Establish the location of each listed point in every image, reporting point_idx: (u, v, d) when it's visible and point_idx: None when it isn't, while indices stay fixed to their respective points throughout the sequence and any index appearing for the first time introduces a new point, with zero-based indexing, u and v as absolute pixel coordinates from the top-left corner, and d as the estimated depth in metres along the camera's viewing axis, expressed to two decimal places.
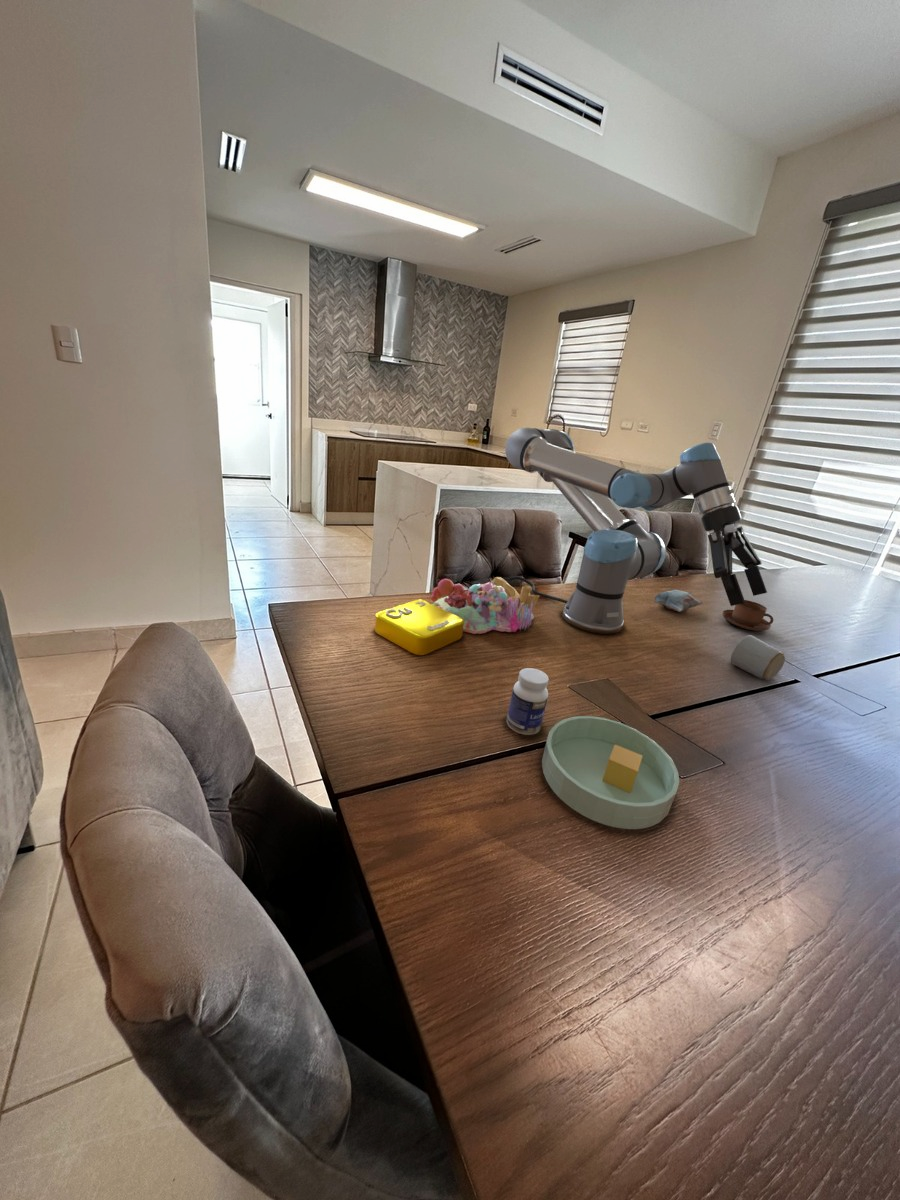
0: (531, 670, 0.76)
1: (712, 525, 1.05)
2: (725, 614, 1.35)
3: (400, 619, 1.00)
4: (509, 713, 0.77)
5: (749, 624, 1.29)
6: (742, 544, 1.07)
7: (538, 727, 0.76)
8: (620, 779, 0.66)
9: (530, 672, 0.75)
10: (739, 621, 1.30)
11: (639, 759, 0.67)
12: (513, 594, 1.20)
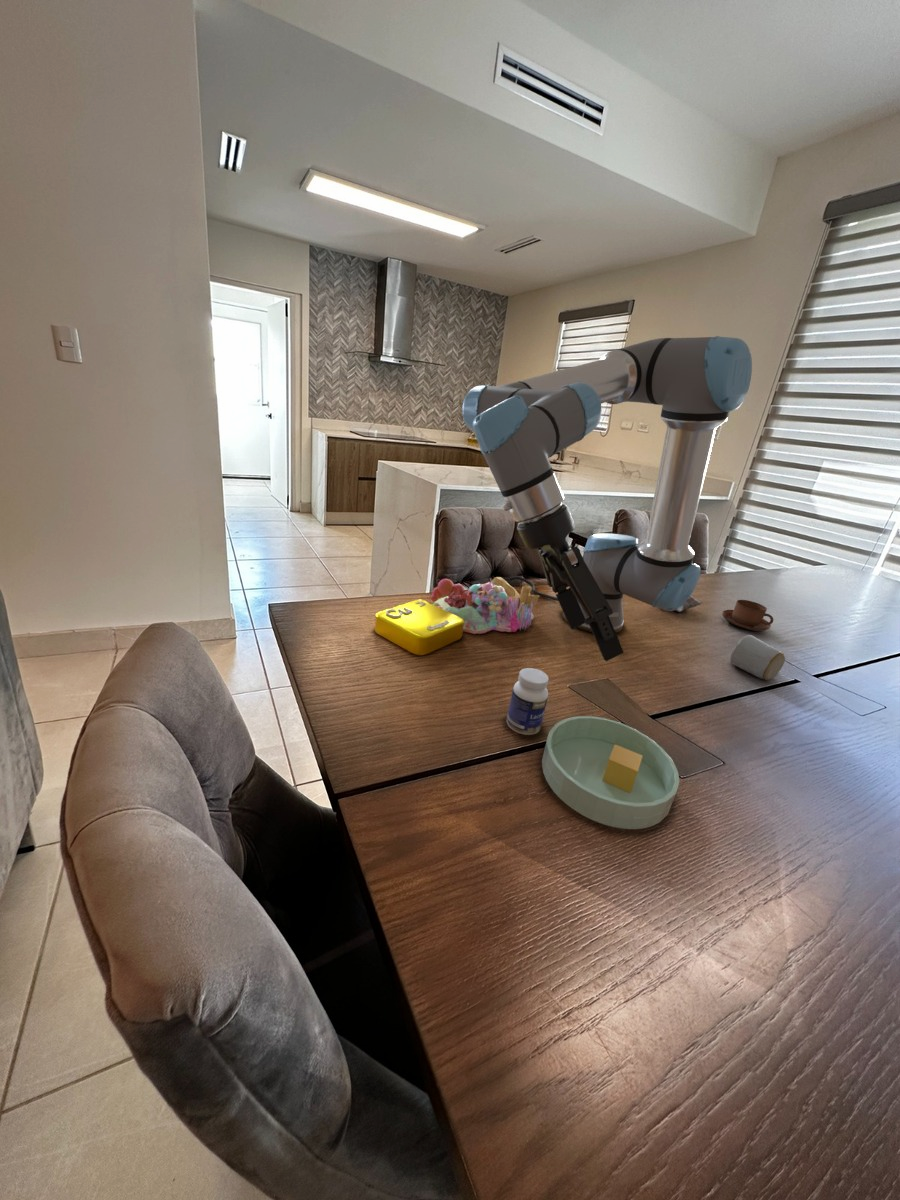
0: (531, 670, 0.76)
1: None
2: (725, 614, 1.35)
3: (400, 619, 1.00)
4: (509, 713, 0.77)
5: (749, 624, 1.29)
6: None
7: (538, 727, 0.76)
8: (620, 779, 0.66)
9: (530, 672, 0.75)
10: (739, 621, 1.30)
11: (639, 759, 0.67)
12: (513, 594, 1.20)
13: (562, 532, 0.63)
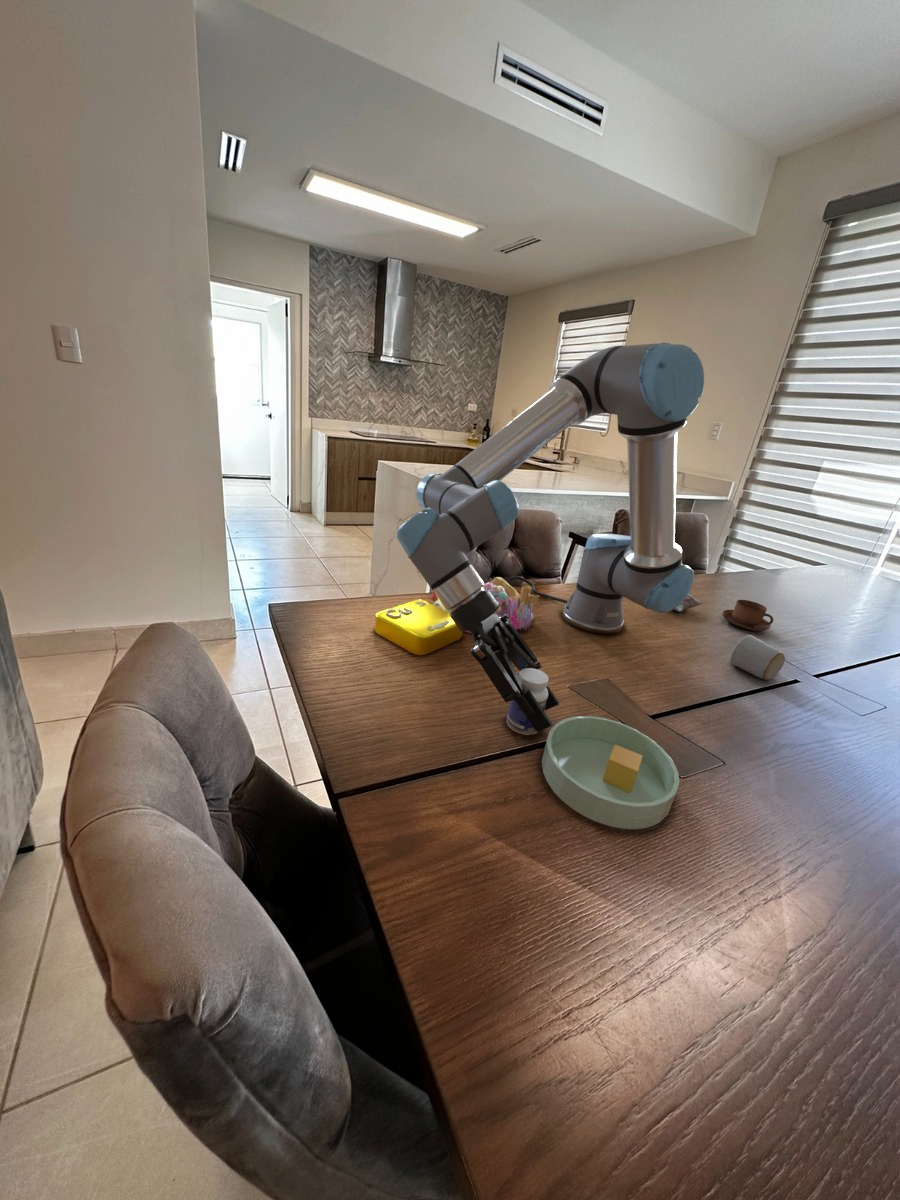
0: (531, 670, 0.76)
1: None
2: (725, 614, 1.35)
3: (399, 619, 1.00)
4: (509, 713, 0.77)
5: (749, 624, 1.29)
6: None
7: None
8: (620, 779, 0.66)
9: (530, 672, 0.75)
10: (739, 621, 1.30)
11: (639, 759, 0.67)
12: (513, 594, 1.20)
13: (474, 620, 0.71)
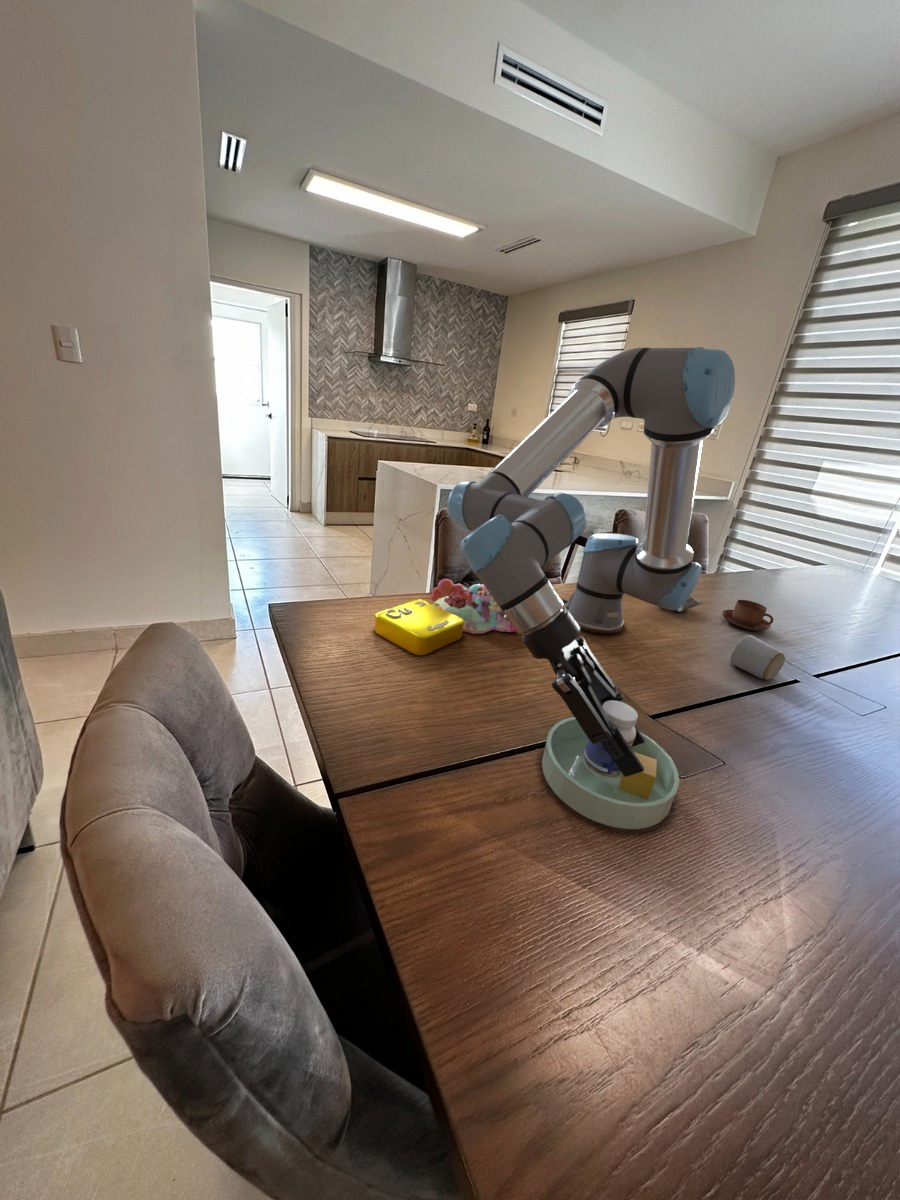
0: (615, 704, 0.65)
1: None
2: (725, 614, 1.35)
3: (399, 619, 1.00)
4: (588, 752, 0.66)
5: (749, 624, 1.29)
6: None
7: None
8: (637, 786, 0.65)
9: (615, 706, 0.65)
10: (739, 621, 1.30)
11: (654, 764, 0.66)
12: None
13: (555, 647, 0.61)
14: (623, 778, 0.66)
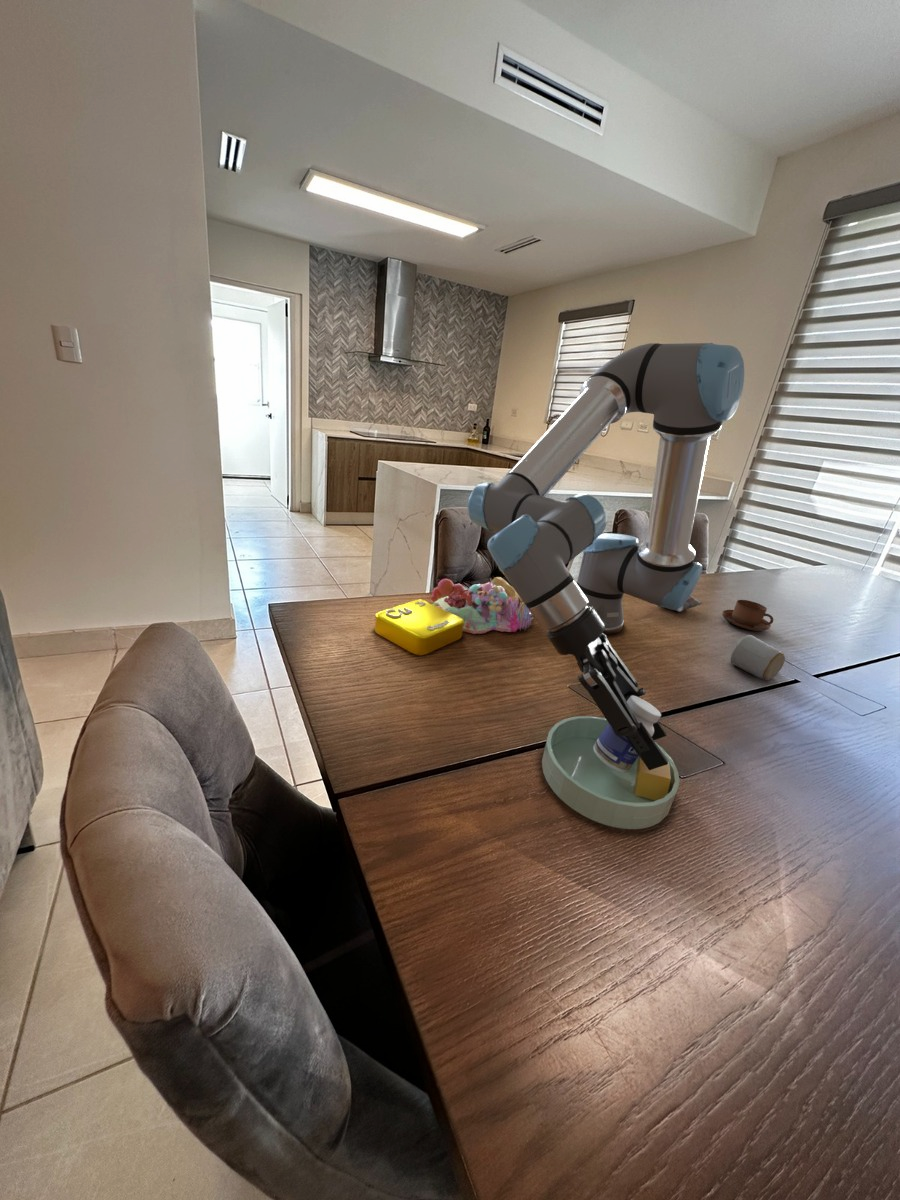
0: (641, 700, 0.68)
1: None
2: (725, 614, 1.35)
3: (399, 619, 1.00)
4: (602, 739, 0.68)
5: (749, 624, 1.29)
6: None
7: (630, 765, 0.66)
8: (653, 790, 0.64)
9: (641, 701, 0.67)
10: (739, 621, 1.30)
11: (667, 766, 0.66)
12: (513, 594, 1.20)
13: (581, 643, 0.62)
14: (638, 783, 0.65)
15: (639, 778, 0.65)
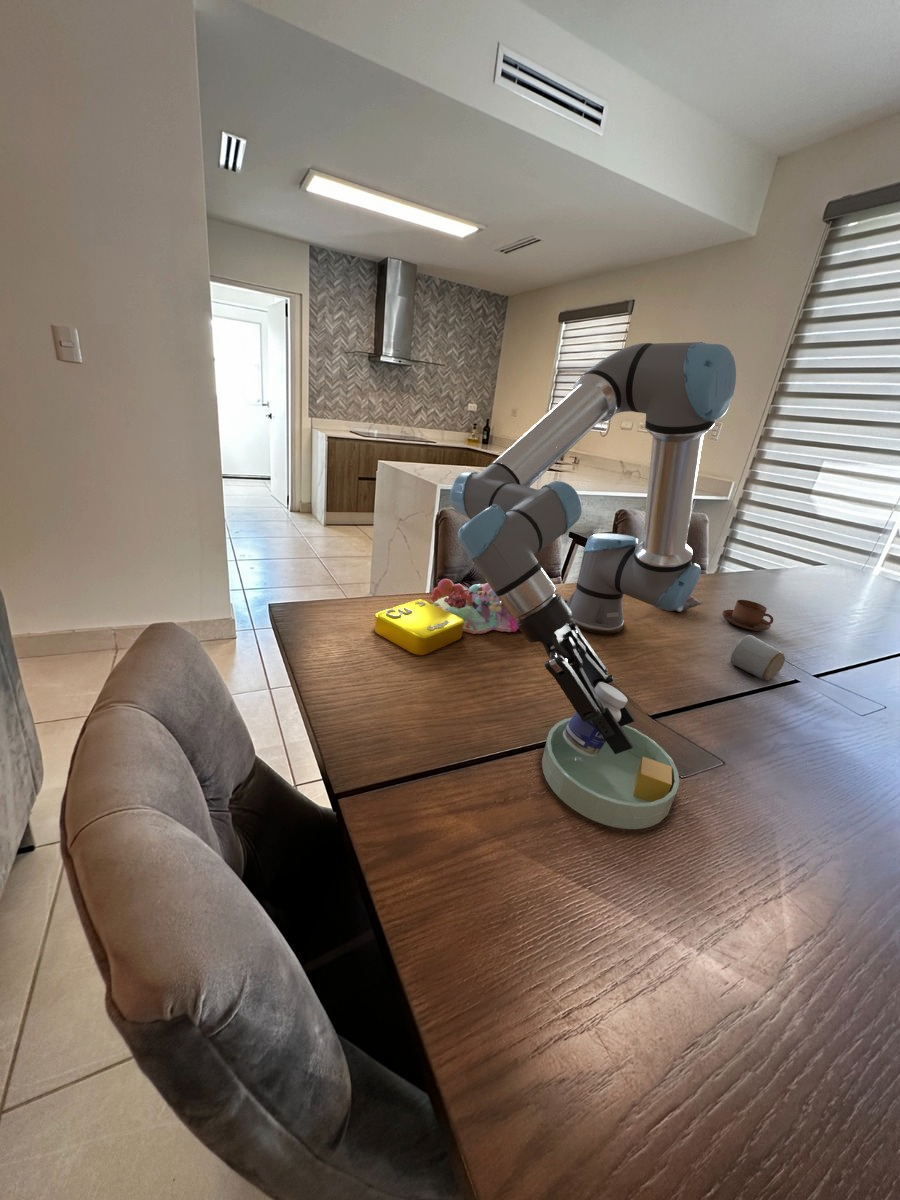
0: (609, 686, 0.69)
1: None
2: (725, 614, 1.35)
3: (399, 619, 1.00)
4: (571, 724, 0.69)
5: (749, 624, 1.29)
6: None
7: (598, 750, 0.68)
8: (652, 793, 0.64)
9: (609, 687, 0.69)
10: (739, 621, 1.30)
11: (669, 771, 0.65)
12: None
13: (548, 630, 0.64)
14: (638, 785, 0.65)
15: (640, 780, 0.65)
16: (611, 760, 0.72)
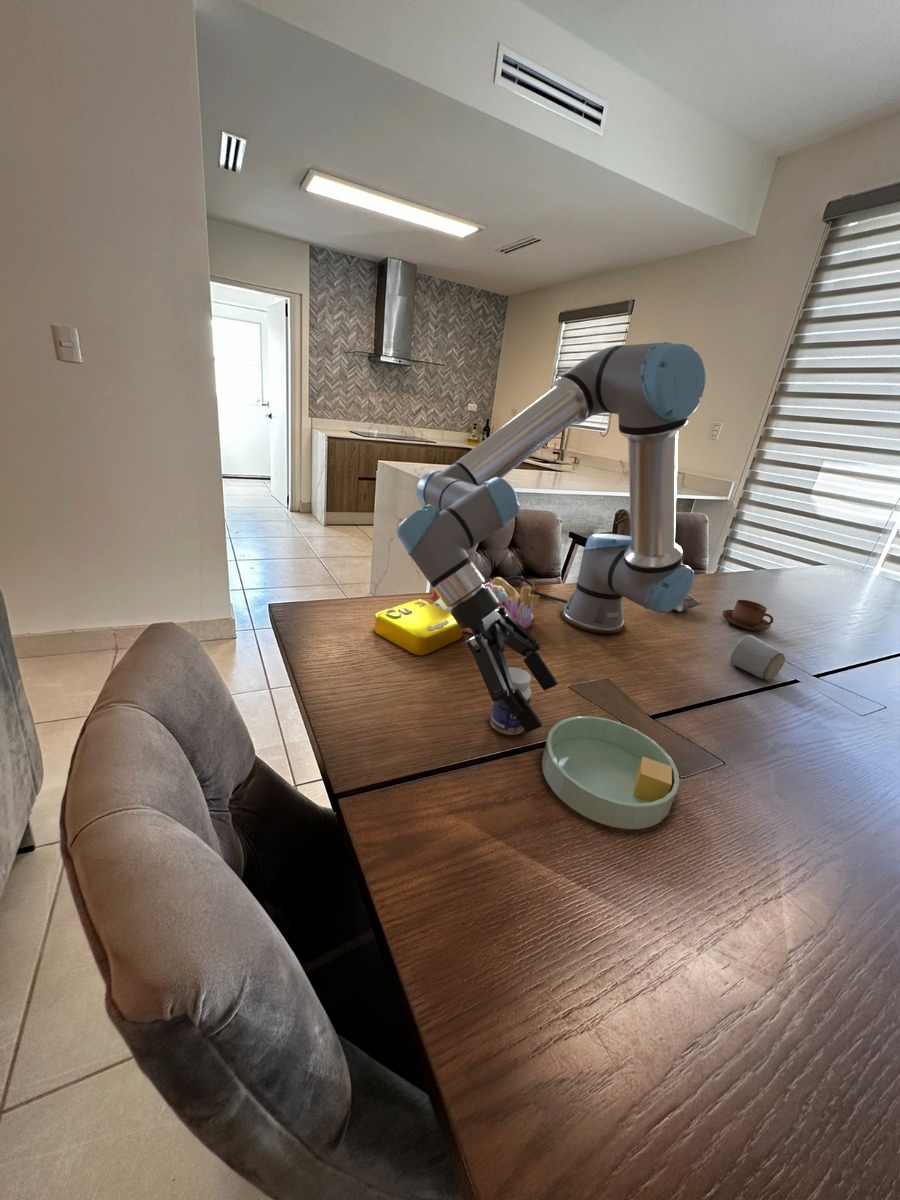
0: (515, 670, 0.75)
1: None
2: (725, 614, 1.35)
3: (399, 619, 1.00)
4: (492, 711, 0.77)
5: (749, 624, 1.29)
6: None
7: (520, 728, 0.75)
8: (652, 793, 0.64)
9: (513, 671, 0.75)
10: (739, 621, 1.30)
11: (669, 771, 0.65)
12: (513, 594, 1.20)
13: (475, 617, 0.71)
14: (638, 785, 0.65)
15: (640, 780, 0.65)
16: (611, 760, 0.72)
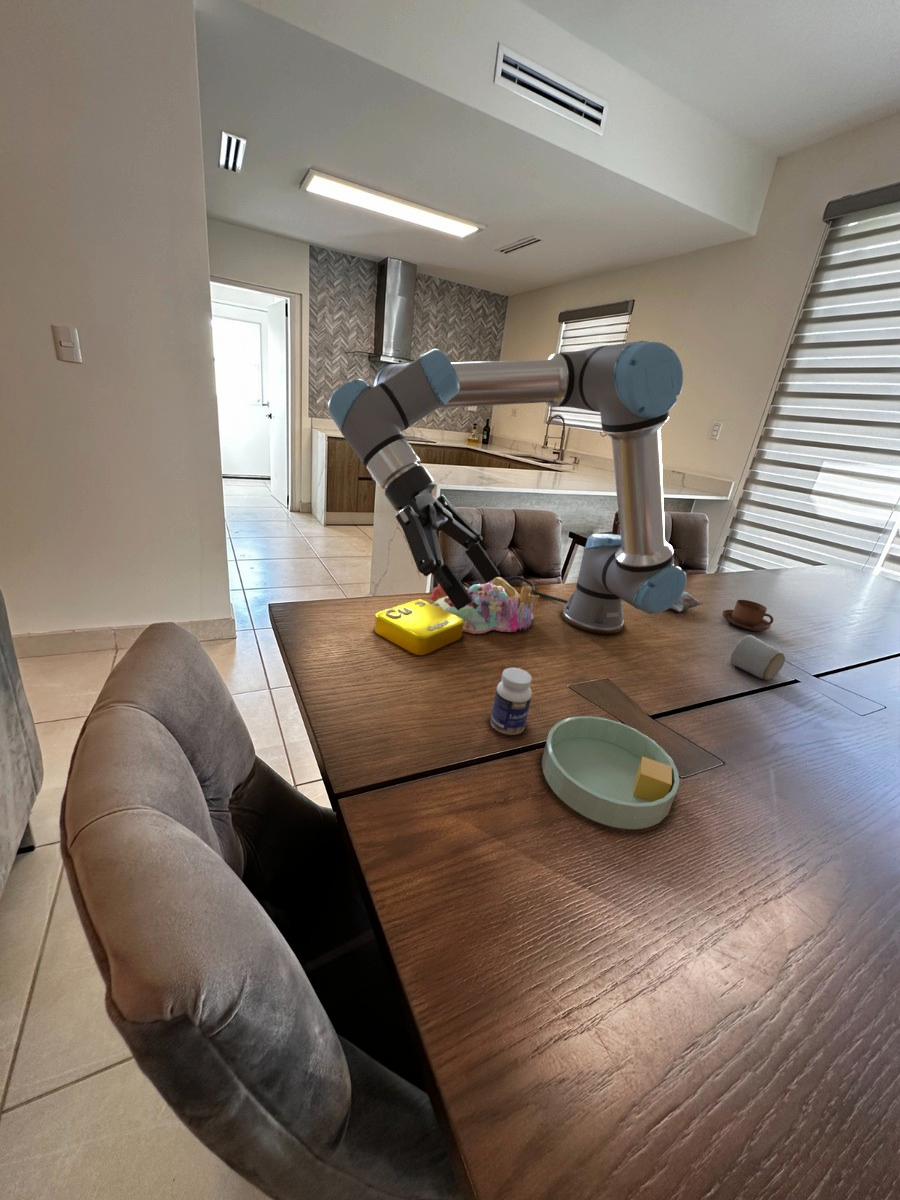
0: (516, 670, 0.75)
1: None
2: (725, 614, 1.35)
3: (399, 619, 1.00)
4: (492, 711, 0.77)
5: (749, 624, 1.29)
6: None
7: (519, 728, 0.75)
8: (652, 793, 0.64)
9: (514, 672, 0.75)
10: (739, 621, 1.30)
11: (669, 771, 0.65)
12: (513, 594, 1.20)
13: (407, 493, 0.69)
14: (638, 785, 0.65)
15: (640, 780, 0.65)
16: (611, 760, 0.72)
